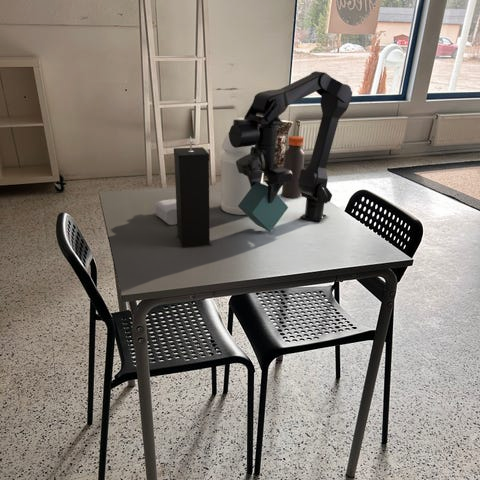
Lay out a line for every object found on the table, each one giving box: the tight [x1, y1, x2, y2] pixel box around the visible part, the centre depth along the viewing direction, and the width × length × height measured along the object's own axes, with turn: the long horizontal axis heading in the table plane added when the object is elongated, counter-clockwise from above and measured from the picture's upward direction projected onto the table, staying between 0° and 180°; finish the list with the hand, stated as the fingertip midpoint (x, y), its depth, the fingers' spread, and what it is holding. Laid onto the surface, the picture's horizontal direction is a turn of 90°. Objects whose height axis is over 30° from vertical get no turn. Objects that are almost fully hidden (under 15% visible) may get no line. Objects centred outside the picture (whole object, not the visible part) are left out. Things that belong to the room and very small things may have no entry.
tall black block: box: [173, 136, 211, 248], centre depth 133 cm, size 8×8×28 cm
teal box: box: [238, 181, 289, 233], centre depth 145 cm, size 9×7×10 cm
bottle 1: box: [219, 116, 265, 216], centre depth 158 cm, size 14×14×28 cm
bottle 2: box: [281, 135, 305, 199], centre depth 173 cm, size 7×7×20 cm
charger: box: [155, 198, 177, 226], centre depth 156 cm, size 5×9×15 cm
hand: (262, 199), depth 144 cm, fingers closed on teal box, 7 cm apart
